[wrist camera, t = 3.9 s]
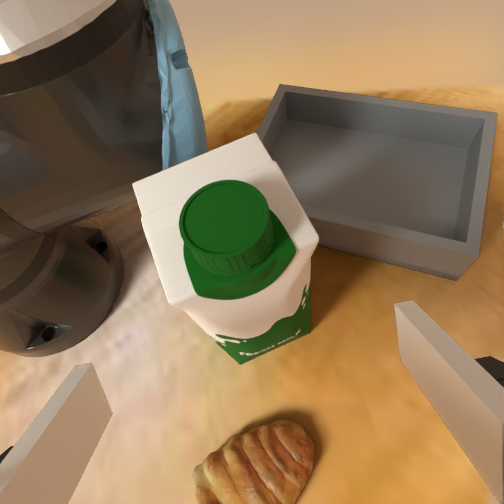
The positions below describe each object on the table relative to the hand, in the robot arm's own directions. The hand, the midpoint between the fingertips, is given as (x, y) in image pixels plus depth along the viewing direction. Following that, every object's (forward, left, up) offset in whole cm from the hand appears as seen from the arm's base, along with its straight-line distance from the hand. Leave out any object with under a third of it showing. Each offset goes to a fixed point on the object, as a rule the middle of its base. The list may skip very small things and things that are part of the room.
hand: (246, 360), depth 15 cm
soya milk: (-4, +6, -17) cm, 19 cm away
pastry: (0, -6, -18) cm, 19 cm away
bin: (+1, +23, -17) cm, 29 cm away
